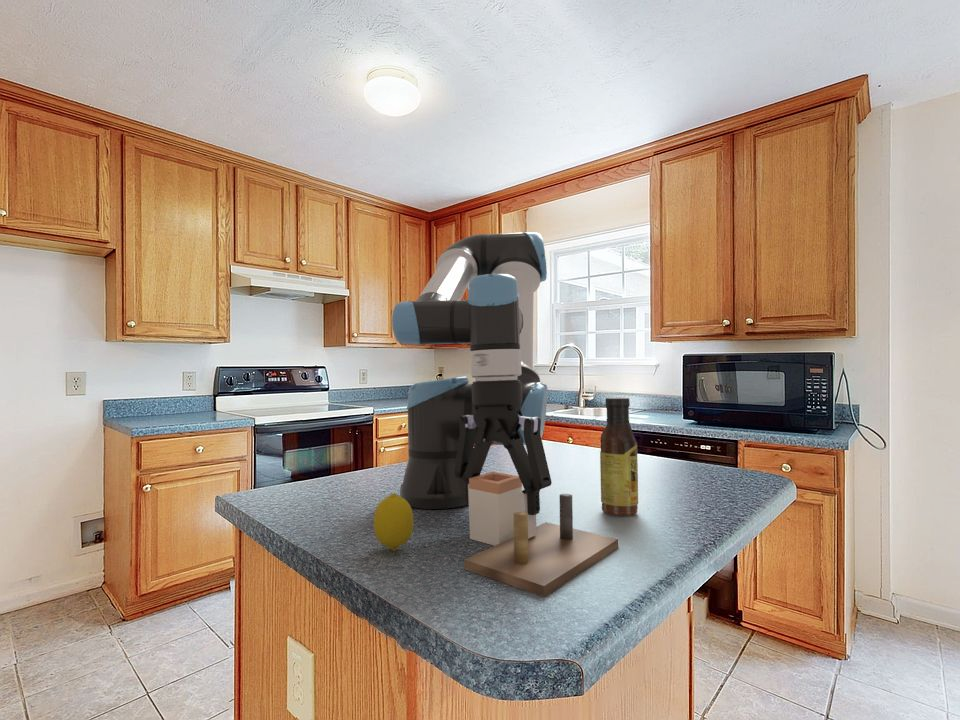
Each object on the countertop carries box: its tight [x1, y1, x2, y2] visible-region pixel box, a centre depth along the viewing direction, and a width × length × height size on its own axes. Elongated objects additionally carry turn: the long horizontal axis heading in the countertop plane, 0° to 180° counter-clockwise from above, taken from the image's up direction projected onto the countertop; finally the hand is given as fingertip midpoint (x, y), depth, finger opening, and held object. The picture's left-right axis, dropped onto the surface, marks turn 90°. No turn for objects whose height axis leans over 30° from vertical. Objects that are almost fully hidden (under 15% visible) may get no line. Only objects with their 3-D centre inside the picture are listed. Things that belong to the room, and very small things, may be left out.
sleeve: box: [468, 471, 523, 547], centre depth 75 cm, size 6×6×9 cm
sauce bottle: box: [599, 397, 639, 517], centre depth 87 cm, size 7×6×20 cm
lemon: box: [373, 493, 415, 552], centre depth 71 cm, size 6×6×8 cm
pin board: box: [464, 493, 619, 597], centre depth 67 cm, size 12×19×7 cm, turn 140°
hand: (502, 530), depth 75 cm, fingers open, 9 cm apart
